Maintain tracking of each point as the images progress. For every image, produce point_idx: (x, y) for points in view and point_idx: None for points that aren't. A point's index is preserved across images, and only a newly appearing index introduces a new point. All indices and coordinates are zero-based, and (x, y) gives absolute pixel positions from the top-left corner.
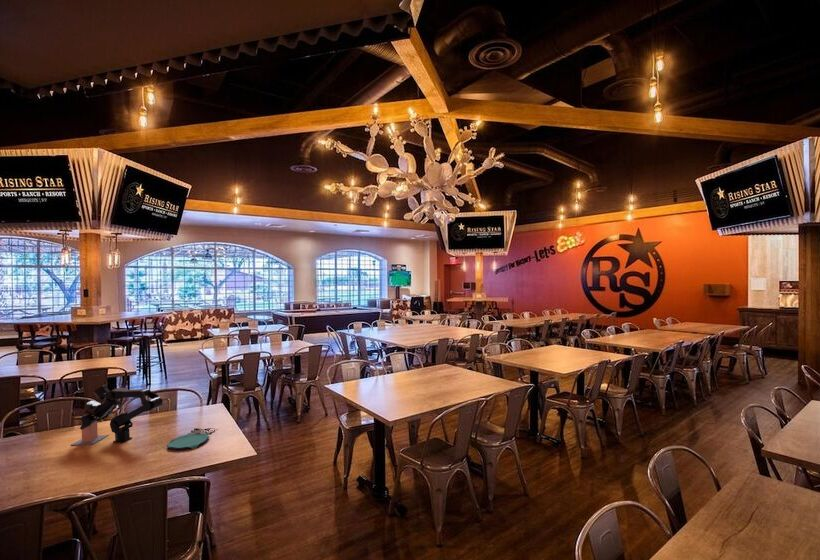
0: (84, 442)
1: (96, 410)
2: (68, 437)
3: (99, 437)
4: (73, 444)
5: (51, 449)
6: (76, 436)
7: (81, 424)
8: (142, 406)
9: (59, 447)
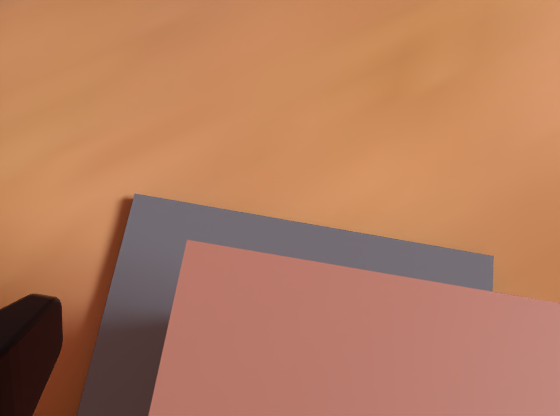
0: None
1: None
2: (513, 3)
3: None
4: (136, 231)
5: (88, 4)
6: (535, 88)
7: (190, 242)
8: None
9: (129, 69)
